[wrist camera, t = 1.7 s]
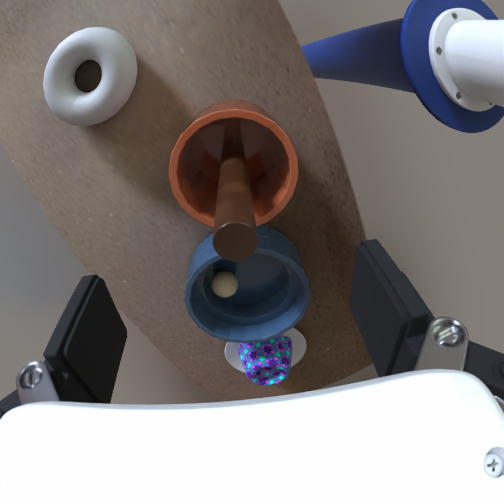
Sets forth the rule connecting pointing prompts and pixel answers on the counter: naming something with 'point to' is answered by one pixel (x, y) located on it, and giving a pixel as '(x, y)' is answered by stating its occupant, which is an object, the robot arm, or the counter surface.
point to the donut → (112, 82)
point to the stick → (234, 206)
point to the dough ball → (224, 284)
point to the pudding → (267, 357)
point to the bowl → (249, 290)
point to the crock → (256, 152)
